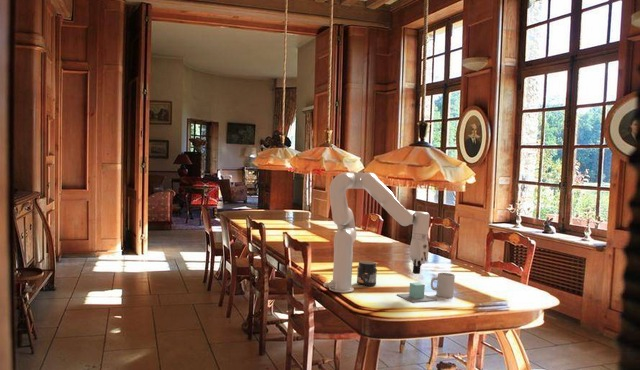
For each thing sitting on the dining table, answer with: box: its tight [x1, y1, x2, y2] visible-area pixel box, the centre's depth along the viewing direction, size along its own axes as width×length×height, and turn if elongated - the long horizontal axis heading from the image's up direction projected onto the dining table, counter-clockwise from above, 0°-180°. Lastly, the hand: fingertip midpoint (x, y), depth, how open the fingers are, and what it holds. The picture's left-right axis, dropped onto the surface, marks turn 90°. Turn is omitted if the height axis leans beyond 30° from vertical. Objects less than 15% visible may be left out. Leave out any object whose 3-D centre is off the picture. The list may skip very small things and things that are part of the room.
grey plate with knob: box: [396, 293, 438, 304], centre depth 264 cm, size 14×14×6 cm
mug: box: [430, 272, 456, 299], centre depth 272 cm, size 12×8×11 cm
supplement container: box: [356, 260, 378, 288], centre depth 288 cm, size 10×10×12 cm
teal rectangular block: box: [408, 281, 426, 299], centre depth 264 cm, size 5×5×7 cm
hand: (416, 273), depth 264 cm, fingers closed
